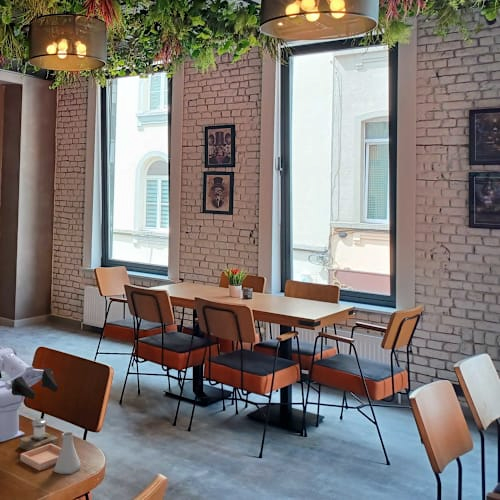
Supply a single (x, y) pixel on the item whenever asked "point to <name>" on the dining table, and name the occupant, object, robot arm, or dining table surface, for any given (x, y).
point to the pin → (39, 429)
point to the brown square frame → (30, 444)
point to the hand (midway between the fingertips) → (45, 392)
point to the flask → (67, 456)
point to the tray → (42, 456)
